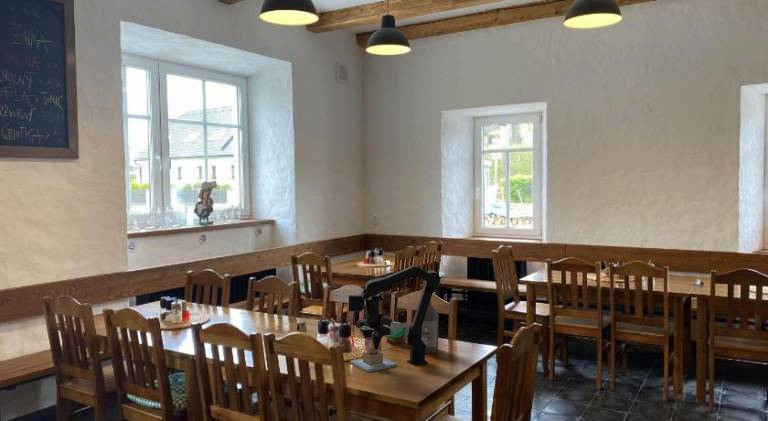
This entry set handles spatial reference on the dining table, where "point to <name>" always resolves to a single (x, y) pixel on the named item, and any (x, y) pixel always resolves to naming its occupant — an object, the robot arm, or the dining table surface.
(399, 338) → the food container
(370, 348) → the terracotta block
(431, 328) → the liquor
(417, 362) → the robot arm
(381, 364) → the blueprint board
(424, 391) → the dining table surface
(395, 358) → the dining table surface
